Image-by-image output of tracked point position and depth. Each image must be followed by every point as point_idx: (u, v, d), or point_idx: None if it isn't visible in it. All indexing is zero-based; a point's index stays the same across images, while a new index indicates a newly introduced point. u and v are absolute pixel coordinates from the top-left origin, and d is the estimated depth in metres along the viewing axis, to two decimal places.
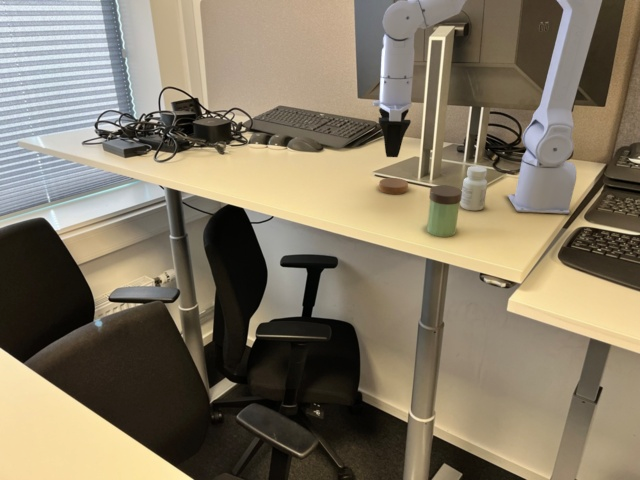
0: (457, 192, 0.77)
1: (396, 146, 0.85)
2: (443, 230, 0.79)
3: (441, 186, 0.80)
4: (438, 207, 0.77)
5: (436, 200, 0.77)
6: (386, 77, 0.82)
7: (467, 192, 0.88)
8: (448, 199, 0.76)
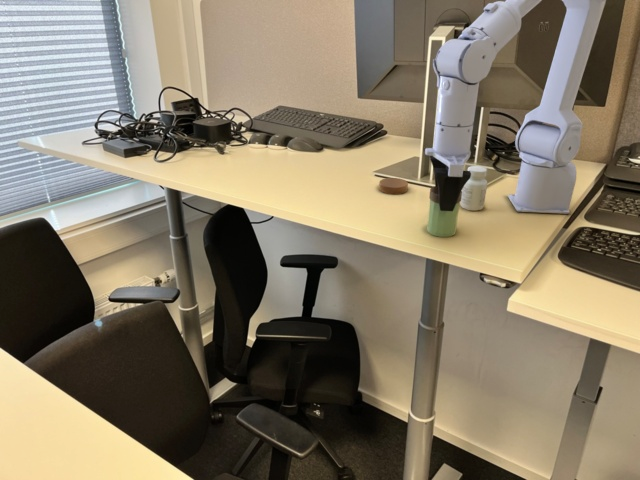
0: None
1: (452, 199, 0.75)
2: (443, 230, 0.79)
3: None
4: (438, 207, 0.77)
5: (436, 200, 0.77)
6: (444, 125, 0.71)
7: (467, 192, 0.88)
8: None
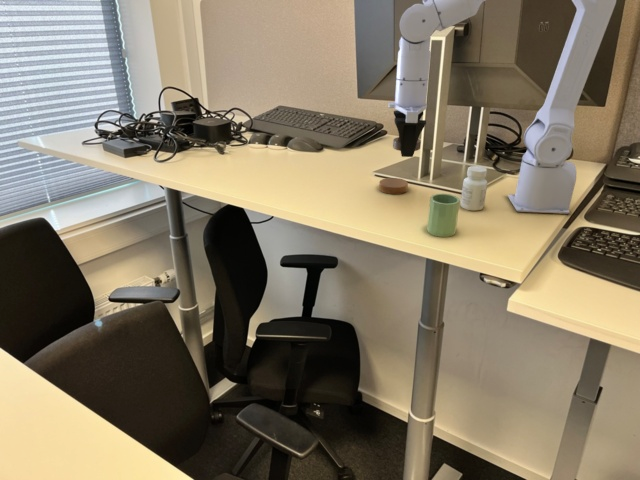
0: None
1: (411, 146, 0.87)
2: (443, 230, 0.79)
3: None
4: (438, 207, 0.77)
5: (398, 147, 0.89)
6: (402, 79, 0.83)
7: (467, 192, 0.88)
8: None
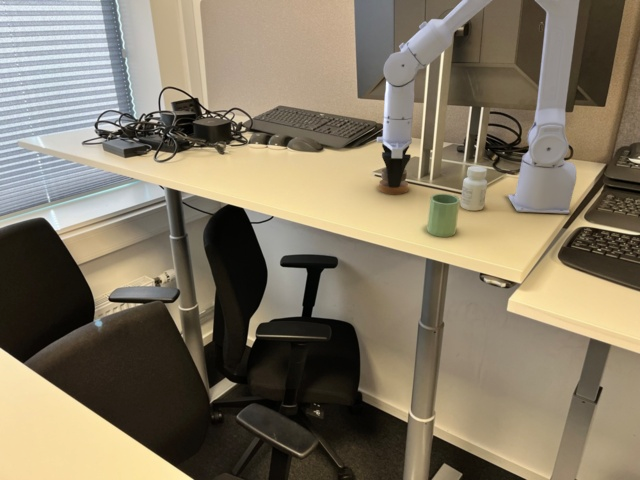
0: None
1: (398, 177, 0.95)
2: (443, 230, 0.79)
3: None
4: (438, 207, 0.77)
5: (386, 178, 0.96)
6: (389, 118, 0.91)
7: (467, 192, 0.88)
8: None
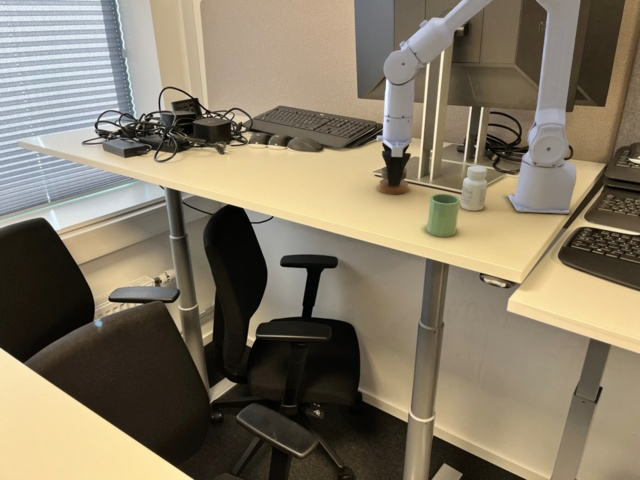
0: None
1: (398, 176, 0.95)
2: (443, 230, 0.79)
3: None
4: (438, 207, 0.77)
5: (386, 177, 0.96)
6: (389, 116, 0.91)
7: (467, 192, 0.88)
8: None
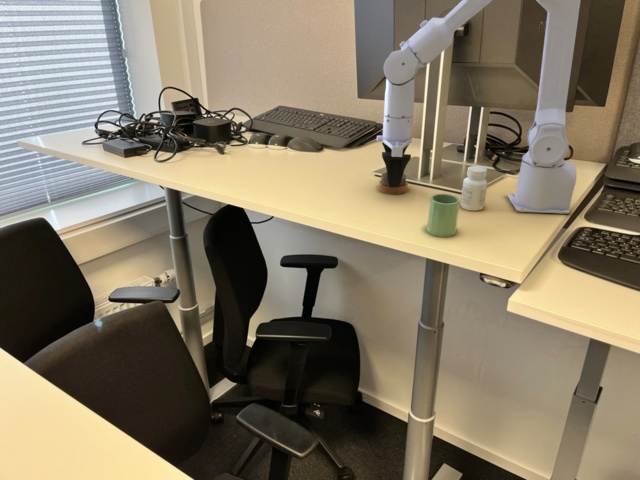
0: (402, 177, 0.97)
1: (398, 177, 0.94)
2: (443, 230, 0.79)
3: None
4: (438, 207, 0.77)
5: (385, 183, 0.97)
6: (389, 116, 0.91)
7: (467, 192, 0.88)
8: None
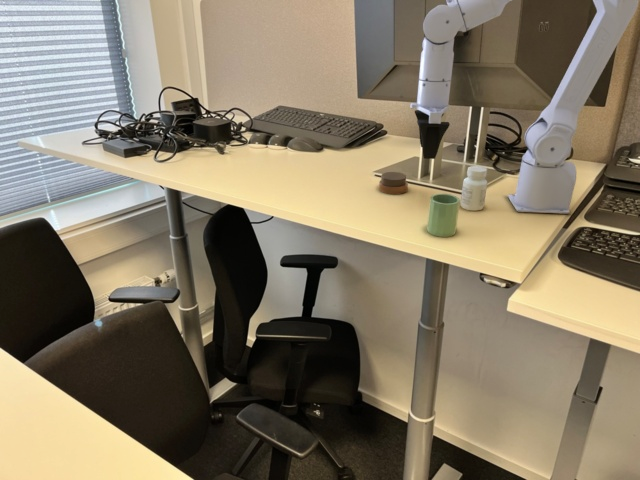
0: (402, 177, 0.97)
1: (434, 148, 0.86)
2: (443, 230, 0.79)
3: (391, 172, 1.00)
4: (438, 207, 0.77)
5: (385, 183, 0.97)
6: (425, 80, 0.83)
7: (467, 192, 0.88)
8: (394, 182, 0.96)
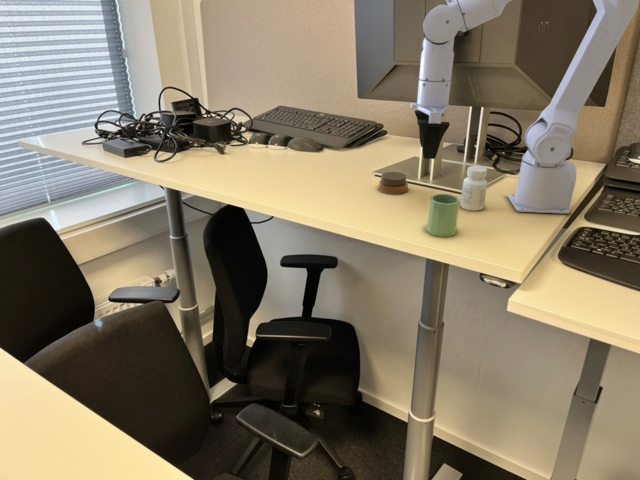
0: (402, 177, 0.97)
1: (434, 148, 0.86)
2: (443, 230, 0.79)
3: (391, 172, 1.00)
4: (438, 207, 0.77)
5: (385, 183, 0.97)
6: (425, 80, 0.83)
7: (467, 192, 0.88)
8: (394, 182, 0.96)
